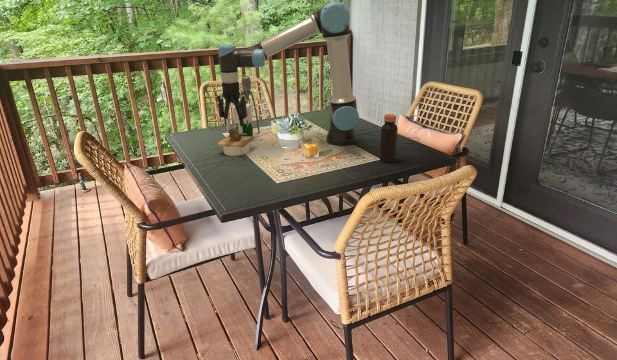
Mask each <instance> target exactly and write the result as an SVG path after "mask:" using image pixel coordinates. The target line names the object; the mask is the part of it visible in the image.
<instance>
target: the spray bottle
mask: <svg viewBox="0 0 617 360" xmlns="http://www.w3.org/2000/svg"><path fill="white" fill-rule="evenodd" d="M241 88H242V90H241V91H240V94H241V95H243V96H246V97H247V98H246V100H247V101H246V102H248V103H247V104H251V101H250V97H251V100H252V105H253V109H254V113H255V118H256V119H255V121H256V125H257V134H258V135H259V134H260V133H261V132H260V123H259V122H260V121H259V116H258V115H259V114H258V110H257V106H256V100H255V96H254V94H253V90H252V89H251V88H252V81H251V78H250V77H249V76H248V75H244V76H242V78H241ZM239 101H241V100H240V99H239Z"/></svg>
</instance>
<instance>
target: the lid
mask: <svg viewBox="0 0 617 360" xmlns="http://www.w3.org/2000/svg"><path fill="white" fill-rule="evenodd" d="M228 134H229V135H227V136H226V137H224V138H222V139H221V140H220V141H219V142H216V146H217V147H223V146H229V147H245V146H246V145H247V144H248V143H249V144H250V143H251V142H252V141H253V140H255V137H254V136H253V137H248V136H241V134H239V130H238V129H235V128H232V127H231V130H229V133H228Z"/></svg>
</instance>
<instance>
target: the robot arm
mask: <svg viewBox="0 0 617 360" xmlns="http://www.w3.org/2000/svg"><path fill="white" fill-rule="evenodd" d="M350 17H351V15H350V12H349V9H348V7H347V6H346V5H345V4H343V2H340V1H336V0H335V1H329V2H327V3H325V4H324V5H323V6H322V7H320V8H319V9H317V10H315V11H314V12H312V13H311V14H310V15H309V17H308V18H305V19H304V20H301V21H299V22H297V23H295V24H294V25H291V26H290V27H288V28H286V29H284V30H282V31H279V32H278V33H276V34H274V35H272V36H270V37H268V38H266V39H263V40H262V41H261V42H258V43H255V44H254V45H251V46H248V48H247V49H238V48H237V46H236V45H235V44H221V45H219V46H218V61H219V69H220V79H221V90H222V93H221V94H218V95H216V98H217V100H218V112H219V117H220V118H223V120H224V122H223V123H224V126H226V133H227V134H229V130H231V129H232V127H231V119H230V117H229V114H230V108H231V104H233V106H234V105H235V108H236V111H237V114H238V117H239V119H238V130H239V134H241V133H242V132H243V130H242V126H243V125H244V121H243V119H244V118H246V117H247V109H246V104H247V101H246V100H247V99H246V98H247V97H246V96H245V95H241V91H240V82H239V80H240V79H239V78H240V77H239V68H256V69H257V68H264V67H265V65H266V64H265V63H266V59H268V58H270V57H272V56H274V55H276V54H278V53H280V52H282V51H284V50H287V49H289V48H290V47H292V46H294V45H296V44H298V43H300V42H303V41H305V40H306V39H309V38H310V37H312V36H315V35H316V34H319V35H322V39H323V40H325V42H326V47H327V56H328V62H329V63H328V65H329V72H330V73H329V74H330V80H331V90H332V95H331V96H330V98H329V127H328V131H327V134H326V136H325V137H326V140H325V141H326V142H327V143H328V144H330V145H334V146H350V145H354V144H355V143H357V141H358V137H357V132H356V130H355V127H357V125H358V123H359V119H360V116H359V112H358V107H357V105H358V104H357V97H356V96H355V95H353V91H352V90H353V89H352V81H351V80H352V78H351V70H350V69H351V68H350V61H349V60H350V59H349V47H348V38H349V37H350V35H351V30H350V19H351V18H350ZM240 100H241V106H242V111H241V108H240V104H239V101H240ZM224 101H225V102H224Z"/></svg>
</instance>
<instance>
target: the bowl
mask: <svg viewBox="0 0 617 360" xmlns="http://www.w3.org/2000/svg"><path fill="white" fill-rule="evenodd" d="M250 147H251V146H250V143H248V144H247V145H246V146H245V147H229V146H222V148H223V149H222V150H223V154H224V155H226V156H231V157H233V156H234V157H237V156H243V155H246V154H249V153H250V151H251V150H250V149H251V148H250Z"/></svg>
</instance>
